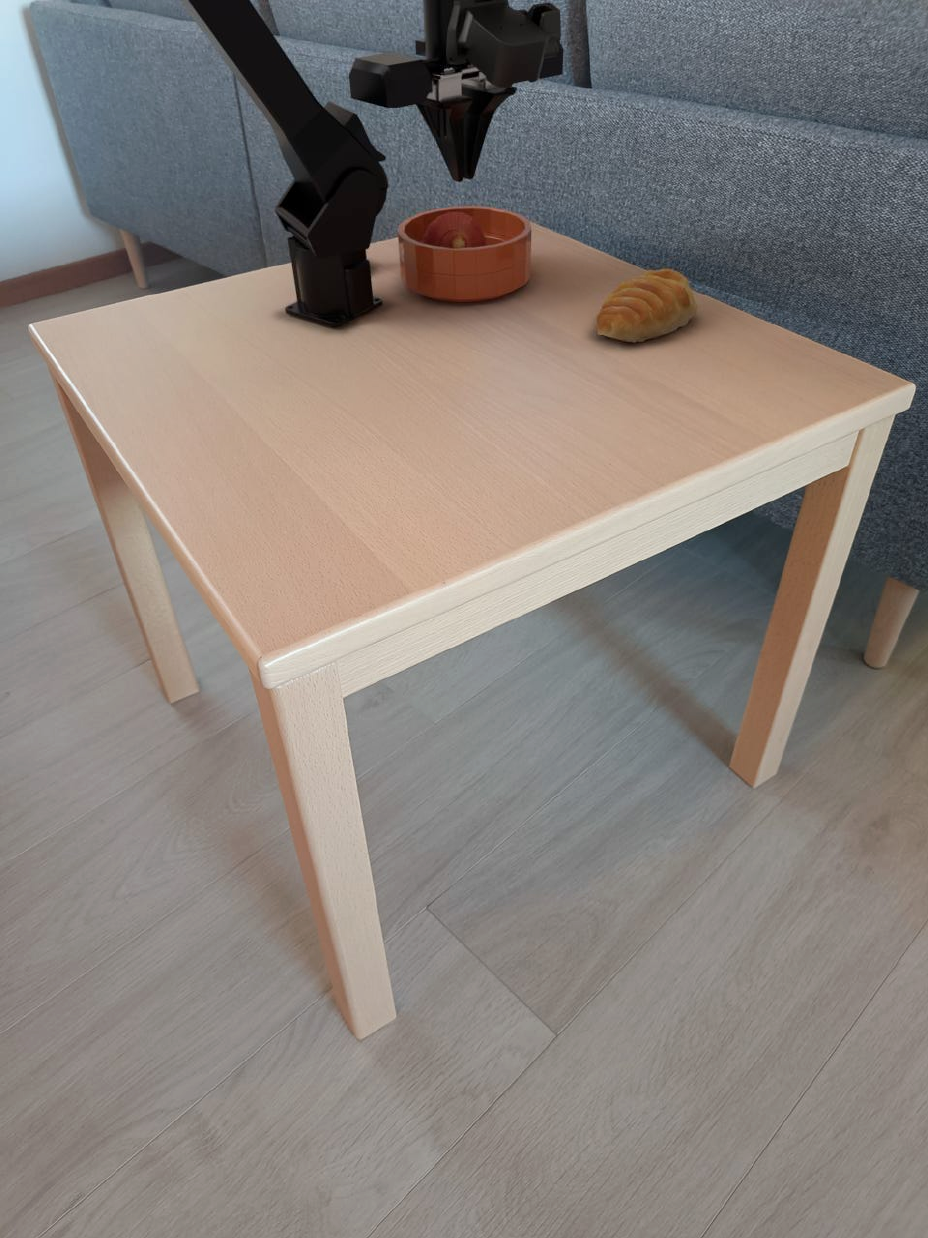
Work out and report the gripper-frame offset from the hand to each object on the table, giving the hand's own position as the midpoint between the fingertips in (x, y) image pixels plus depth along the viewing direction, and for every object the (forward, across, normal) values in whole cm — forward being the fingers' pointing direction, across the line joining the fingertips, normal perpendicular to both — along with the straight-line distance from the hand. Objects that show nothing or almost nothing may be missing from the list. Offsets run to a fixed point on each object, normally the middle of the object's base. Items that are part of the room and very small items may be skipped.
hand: (463, 179), depth 79 cm
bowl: (+9, 0, 0) cm, 9 cm away
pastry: (+9, +5, -18) cm, 21 cm away
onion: (+4, -3, -3) cm, 6 cm away
